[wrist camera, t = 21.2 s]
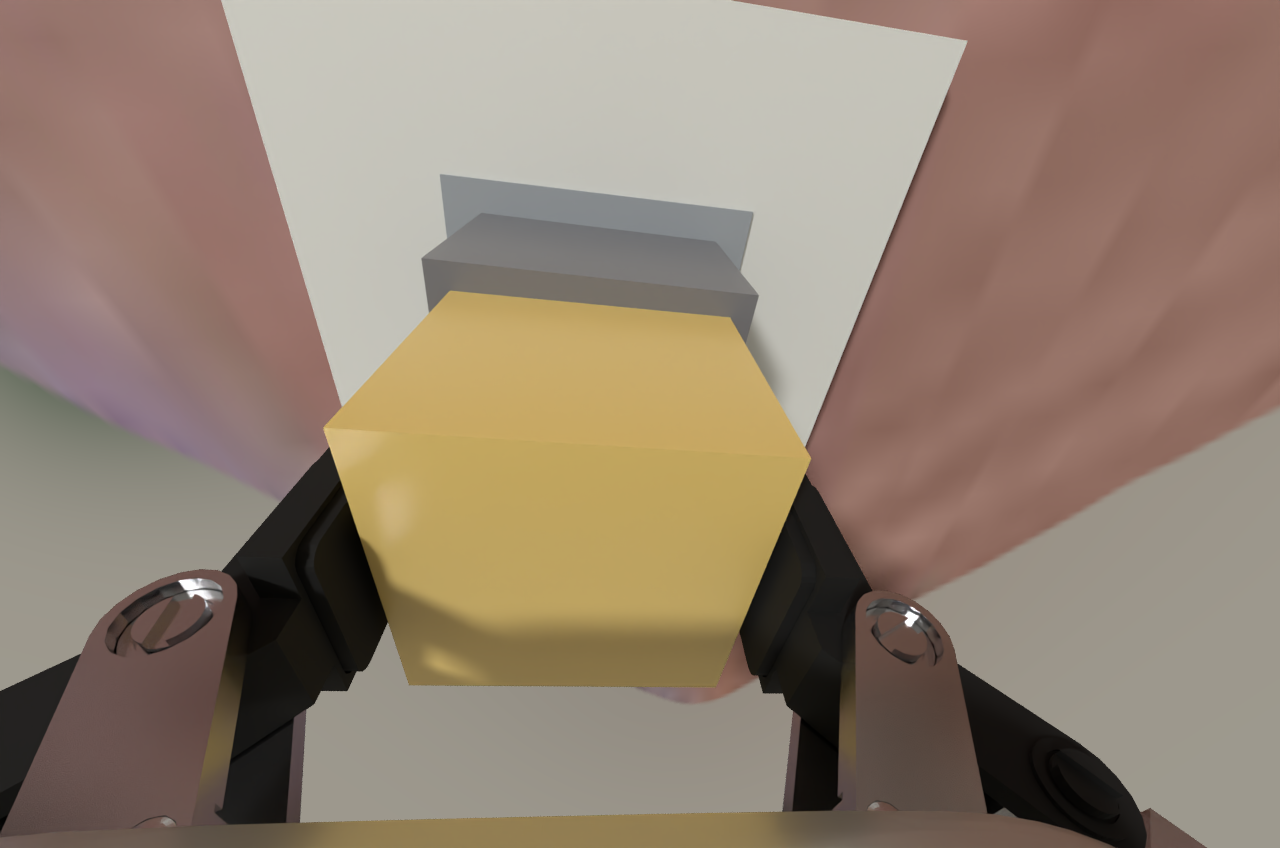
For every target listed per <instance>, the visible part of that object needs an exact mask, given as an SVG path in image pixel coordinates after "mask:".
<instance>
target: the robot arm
mask: <svg viewBox="0 0 1280 848" xmlns="http://www.w3.org/2000/svg"><path fill="white" fill-rule="evenodd" d="M387 623H388V620H387V617H386V614H385V611H384V608H383V605H382V602H381V599H380V596H379V593H378V590H377V587H376V584H375V581H374V578H373V575H372V572H371V569H370V566H369V563H368V560H367V557H366V554H365V552H364V549H363V546H362V543H361V540H360V537H359V534H358V531H357V528H356V525H355V522H354V519H353V516H352V513H351V510H350V507H349V504H348V501H347V498H346V495H345V492H344V489H343V486H342V483H341V480H340V477H339V474H338V471H337V468H336V465H335V462H334V459H333V456H332V453H331V450H330V447H329V448H328V449H327V450H326V452H325V453H324V454H323V455H322V456H321V457H320V459H319V460H317V461H316V462H315V463H314V464H313V465H312V466H311V467H310V468H309V470H308V471H307V472H306V473H305V474H304V475H303V477H302V478H301V479H300V480H299V481H298V482H297V484H296V485H295V486H294V487H293V488H292V489H291V491H290V492H289V493H288V494H287V495H286V496H285V498H284V499H283V500H282V501H281V502H280V503H279V505H278V506H277V507H276V508H275V509H274V511H273V512H272V513H271V514H270V515H269V517H268V518H267V519H266V520H265V521H264V522H263V523H262V525H261V526H260V527H259V528H258V529H257V530H256V532H255V533H254V534H253V535H252V536H251V537H250V539H249V540H248V541H247V542H246V543H245V544H244V546H243V547H242V548H241V549H240V550H239V552H238V553H237V554H236V555H235V556H234V557H233V559H232V560H231V561H230V562H229V563H228V564H227V566H226V567H225V568H224V569H223V570H222V572H221V571H218V570H205V569H199V570H193V571H187V572H181V573H177V574H175V575H171V576H168V577H165V578H162V579H159V580H157V581H155V582H153V583H151V584H149V585H147V586H145V587H143V588H141V589H138V590H137V591H135V592H134V593H132V594H131V595H129V596H128V597H127V598H125V599H123V600H122V601H120V602H119V603H118V604H116V605H115V606H114V607H113V608H112V609H111V610H110V611H109V612H108V613H107V614H106V615H104V616H103V617H102V618H101V619H100V621H99V622H98V624H97V625H96V627H95V628H94V630H93V631H92V633H91V634H90V636H89V638H88V640H87V642H86V645H85V647H84V649H83V651H82V653H81V654H79V655H77V656H75V657H73V658H71V659H69V660H66V661H64V662H62V663H60V664H58V665H56V666H54V667H52V668H49V669H47V670H45V671H43V672H40V673H39V674H36V675H34V676H32V677H30V678H28V679H25V680H23V681H21V682H19V683H17V684H15V685H12V686H10V687H8V688H6V689H4V690H2V691H0V848H1207V847H1205V846H1204V845H1202V844H1201V843H1199V842H1198V841H1197V840H1195V839H1194V838H1192V837H1191V836H1189V835H1188V834H1187V833H1185V832H1184V831H1182V830H1181V829H1179V828H1178V827H1177V826H1175V825H1174V824H1172V823H1171V822H1169V821H1168V820H1167V819H1165V818H1164V817H1162V816H1161V815H1159V814H1158V813H1157V812H1155V811H1154V810H1152V809H1151V808H1149V809H1147V810H1145V811H1143V812H1140V811H1139V809H1138V807H1137V805H1136V803H1135V802H1134V800H1133V798H1132V796H1131V795H1130V793H1129V792H1128V791H1127V789H1126V788H1125V787H1124V786H1123V784H1122V783H1121V781H1120V780H1119V779H1118V778H1117V776H1116V775H1115V774H1114V773H1113V772H1112V771H1111V770H1110V769H1109V768H1108V767H1107V766H1106V765H1105V764H1104V763H1103V762H1102V761H1101V760H1100V759H1099V758H1098V757H1096V756H1095V755H1094V754H1092V753H1091V752H1090V751H1088V750H1087V749H1086V748H1084V747H1083V746H1082V745H1081V744H1079V743H1078V742H1076V741H1075V740H1073V739H1072V738H1070V737H1069V736H1067V735H1066V734H1064V733H1063V732H1061V731H1059V730H1058V729H1057V728H1055V727H1053V726H1052V725H1050V724H1049V723H1047V722H1046V721H1044V720H1043V719H1041V718H1040V717H1038V716H1037V715H1035V714H1033V713H1032V712H1031V711H1029V710H1027V709H1026V708H1024V707H1023V706H1021V705H1020V704H1018V703H1017V702H1015V701H1014V700H1012V699H1011V698H1009V697H1008V696H1006V695H1004V694H1003V693H1002V692H1000V691H999V690H997V689H995V688H994V687H992V686H991V685H989V684H988V683H986V682H985V681H983V680H982V679H980V678H979V677H977V676H975V675H974V674H973V673H971V672H970V671H968V670H966V669H965V668H963V667H962V666H960V665H959V664H957V660H956V654H955V650H954V647H953V645H952V642H951V639H950V636H949V635H948V634H947V632H946V631H945V629H944V628H943V626H942V625H941V623H940V622H939V621H938V620H937V619H936V618H935V617H934V616H933V615H932V614H931V613H930V612H929V611H928V610H926V609H925V608H923V607H922V606H920V605H919V604H918V603H916V602H915V601H913V600H911V599H909V598H907V597H905V596H903V595H901V594H897V593H893V592H889V591H872V589H871V588H870V586H869V584H868V582H867V580H866V578H865V576H864V575H863V573H862V571H861V569H860V567H859V565H858V564H857V562H856V560H855V558H854V556H853V554H852V552H851V551H850V549H849V547H848V545H847V543H846V541H845V540H844V538H843V536H842V534H841V532H840V530H839V529H838V527H837V525H836V523H835V521H834V519H833V517H832V516H831V514H830V512H829V510H828V508H827V506H826V505H825V503H824V501H823V499H822V497H821V495H820V494H819V492H818V491H817V489H816V488H815V487H814V486H812V485H811V483H810V481H809V479H808V477H807V476H806V474H805V475H804V477H803V480H802V482H801V484H800V487H799V489H798V492H797V494H796V496H795V499H794V501H793V504H792V506H791V508H790V511H789V513H788V516H787V518H786V520H785V523H784V525H783V528H782V530H781V532H780V535H779V537H778V540H777V542H776V544H775V547H774V549H773V551H772V554H771V556H770V559H769V561H768V563H767V566H766V568H765V571H764V573H763V575H762V578H761V580H760V583H759V585H758V587H757V590H756V592H755V595H754V597H753V599H752V602H751V604H750V607H749V609H748V611H747V614H746V616H745V618H744V621H743V623H742V626H741V628H740V630H739V631H740V635H741V639H742V643H743V648H744V652H745V656H746V660H747V664H748V667H749V670H750V672H751V674H752V675H758V676H759V680H760V684H761V687H762V691H763V693H783V695H784V698H785V702H786V705H787V706H788V707H789V708H790V709H791V710H793V718H792V727H791V736H790V745H789V756H788V764H787V773H786V783H785V793H784V801H783V810H782V812H744V813H743V812H742V813H691V814H690V813H689V814H688V813H687V814H640V815H639V814H638V815H592V816H552V817H550V816H549V817H548V816H547V817H505V818H463V819H421V820H386V821H385V820H384V821H347V822H312V823H300V812H301V795H302V794H301V793H302V777H303V760H304V741H305V724H306V709H308V708H309V707H311V706H312V705H313V704H314V703H315V701H316V700H317V697H318V695H319V694H320V691H347V690H348V689H349V686H350V684H351V682H352V680H353V678H354V675H355V673H356V671H363V670H365V669H366V668H367V666H368V664H369V663H370V661H371V659H372V657H373V654H374V652H375V650H376V648H377V645H378V643H379V641H380V639H381V636H382V634H383V632H384V629H385V627H386V625H387Z"/></svg>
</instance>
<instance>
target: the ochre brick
mask: <svg viewBox="0 0 1280 848" xmlns="http://www.w3.org/2000/svg"><path fill="white" fill-rule="evenodd" d="M323 429H324V432H325V435H326V438H327V441H328V444H329V447H330V450H331V453H332V456H333V459H334V462H335V465H336V468H337V471H338V474H339V477H340V480H341V483H342V486H343V489H344V492H345V495H346V498H347V501H348V504H349V507H350V510H351V513H352V516H353V519H354V522H355V525H356V528H357V531H358V534H359V537H360V540H361V543H362V546H363V549H364V552H365V554H366V557H367V560H368V563H369V566H370V569H371V572H372V575H373V578H374V581H375V584H376V587H377V590H378V593H379V596H380V599H381V602H382V605H383V608H384V611H385V614H386V617H387V620H388V623H389V626H390V629H391V632H392V635H393V638H394V641H395V644H396V647H397V650H398V653H399V656H400V659H401V662H402V665H403V668H404V671H405V674H406V677H407V680H408V683H409V685H445V686H446V685H447V686H449V685H450V686H453V685H454V686H592V687H594V686H595V687H598V686H600V687H605V686H606V687H716V686H717V683H718V681H719V678H720V676H721V674H722V671H723V669H724V666H725V664H726V662H727V659H728V657H729V654H730V652H731V650H732V647H733V645H734V642H735V640H736V638H737V635H738V633H739V630H740V628H741V626H742V623H743V621H744V618H745V616H746V614H747V611H748V609H749V607H750V604H751V602H752V599H753V597H754V595H755V592H756V590H757V587H758V585H759V583H760V580H761V578H762V575H763V573H764V571H765V568H766V566H767V563H768V561H769V559H770V556H771V554H772V551H773V549H774V547H775V544H776V542H777V540H778V537H779V535H780V532H781V530H782V528H783V525H784V523H785V520H786V518H787V516H788V513H789V511H790V508H791V506H792V504H793V501H794V499H795V496H796V494H797V492H798V489H799V487H800V484H801V482H802V480H803V477H804V475H805V472H806V470H807V468H808V465H809V463H810V461H811V457H810V456H809V454H808V452H807V450H806V449H805V447H804V445H803V443H802V442H801V440H800V438H799V436H798V435H797V433H796V431H795V429H794V428H793V426H792V424H791V422H790V421H789V419H788V417H787V416H786V414H785V412H784V410H783V409H782V407H781V405H780V403H779V402H778V400H777V398H776V396H775V395H774V393H773V391H772V389H771V388H770V386H769V384H768V382H767V381H766V379H765V377H764V376H763V374H762V372H761V370H760V369H759V367H758V365H757V363H756V362H755V360H754V358H753V356H752V355H751V353H750V351H749V349H748V348H747V346H746V344H745V342H744V341H743V339H742V337H741V336H740V334H739V332H738V330H737V329H736V327H735V325H734V323H733V322H732V320H731V318H730V317H721V316H710V315H700V314H689V313H679V312H669V311H658V310H648V309H637V308H627V307H616V306H606V305H595V304H585V303H574V302H564V301H553V300H543V299H533V298H522V297H512V296H501V295H491V294H480V293H470V292H459V291H449V292H448V293H447V294H446V295H445V296H444V298H443V299H442V300H441V301H440V302H439V303H438V304H437V305H436V306H435V307H434V308H433V309H432V311H431V312H430V313H429V314H428V315H427V316H426V317H425V318H424V319H423V320H422V321H421V322H420V324H419V325H418V326H417V327H416V328H415V329H414V330H413V331H412V332H411V333H410V334H409V335H408V337H407V338H406V339H405V340H404V341H403V342H402V343H401V344H400V345H399V346H398V347H397V348H396V350H395V351H394V352H393V353H392V354H391V355H390V356H389V357H388V358H387V359H386V360H385V361H384V363H383V364H382V365H381V366H380V367H379V368H378V369H377V370H376V371H375V372H374V373H373V374H372V376H371V377H370V378H369V379H368V380H367V381H366V382H365V383H364V384H363V385H362V386H361V387H360V389H359V390H358V391H357V392H356V393H355V394H354V395H353V396H352V397H351V398H350V399H349V400H348V402H347V403H346V404H345V405H344V406H343V407H342V408H341V409H340V410H339V411H338V412H337V413H336V415H335V416H334V417H333V418H332V419H331V420H330V421H329V422H328V423H327V424H326V425H325V426H324V428H323Z"/></svg>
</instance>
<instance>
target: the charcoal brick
mask: <svg viewBox="0 0 1280 848" xmlns="http://www.w3.org/2000/svg"><path fill="white" fill-rule="evenodd" d="M421 260H422V267H423V274H424V281H425V288H426V296H427V303H428V310H429V313H430V312H431V311H432V309H433V308H434V307H435V306H436V305H437V304H438V303H439V302H440V301H441V300H442V299H443V298H444V296H445V295H446V294H447V293H448V292H449V291H459V292H470V293H480V294H491V295H501V296H512V297H522V298H533V299H543V300H553V301H564V302H574V303H585V304H595V305H606V306H616V307H627V308H637V309H648V310H658V311H669V312H679V313H689V314H700V315H710V316H721V317H730V318H731V320H732V322H733V323H734V325H735V327H736V329H737V330H738V332H739V334H740V336H741V337H742V339H743V341H744V342H745V344H746V341H747V337H748V334H749V330H750V326H751V323H752V319H753V316H754V312H755V308H756V305H757V301H758V297H759V295H758V293H757V292H756V291H755V290H754V288H753V287H752V286H751V285H750V283H749V282H748V281H747V280H746V279H745V277H744V276H743V275H742V274H741V272H740V271H739V270H738V269H737V267H736V266H735V265H734V264H733V262H732V261H731V260H730V259H729V257H728V256H727V255H726V254H725V252H724V251H723V250H722V249H721V247H720V246H719V245H718V244H717V242H715V241H706V240H698V239H690V238H682V237H674V236H666V235H658V234H649V233H641V232H633V231H625V230H617V229H609V228H601V227H592V226H584V225H576V224H568V223H560V222H552V221H543V220H535V219H527V218H519V217H511V216H503V215H495V214H486V213H480V214H479V215H478V216H476V217H475V218H474V219H472V220H471V221H470V222H468V223H467V224H466V225H464V226H463V227H462V228H460V229H459V230H458V231H457V232H455V233H454V234H453V235H451V236H450V237H449V238H447V239H446V240H445V241H443V242H442V243H441V244H439V245H438V246H437V247H435V248H434V249H433V250H431V251H430V252H429V253H427V254H426V255H425V256H423V257H422V258H421Z"/></svg>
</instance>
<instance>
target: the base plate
mask: <svg viewBox="0 0 1280 848" xmlns="http://www.w3.org/2000/svg"><path fill="white" fill-rule="evenodd" d="M221 1H222V4H223V8H224V11H225V14H226V18H227V21H228V25H229V28H230V31H231V35H232V38H233V41H234V45H235V48H236V52H237V55H238V58H239V62H240V65H241V68H242V72H243V75H244V78H245V82H246V85H247V89H248V92H249V95H250V99H251V102H252V105H253V109H254V112H255V115H256V119H257V122H258V126H259V129H260V132H261V136H262V139H263V142H264V146H265V149H266V153H267V156H268V159H269V163H270V166H271V169H272V173H273V176H274V179H275V183H276V186H277V190H278V193H279V196H280V200H281V203H282V206H283V210H284V213H285V217H286V220H287V223H288V227H289V230H290V233H291V237H292V240H293V243H294V247H295V250H296V254H297V257H298V260H299V264H300V267H301V270H302V274H303V277H304V280H305V284H306V287H307V291H308V294H309V297H310V301H311V304H312V307H313V311H314V314H315V318H316V321H317V324H318V328H319V331H320V334H321V338H322V341H323V344H324V348H325V351H326V355H327V358H328V361H329V365H330V368H331V371H332V375H333V378H334V382H335V385H336V388H337V392H338V395H339V398H340V402H341V405H342V407H343V406H344V405H345V404H346V403H347V402H348V400H349V399H350V398H351V397H352V396H353V395H354V394H355V393H356V392H357V391H358V390H359V389H360V387H361V386H362V385H363V384H364V383H365V382H366V381H367V380H368V379H369V378H370V377H371V376H372V374H373V373H374V372H375V371H376V370H377V369H378V368H379V367H380V366H381V365H382V364H383V363H384V361H385V360H386V359H387V358H388V357H389V356H390V355H391V354H392V353H393V352H394V351H395V350H396V348H397V347H398V346H399V345H400V344H401V343H402V342H403V341H404V340H405V339H406V338H407V337H408V335H409V334H410V333H411V332H412V331H413V330H414V329H415V328H416V327H417V326H418V325H419V324H420V322H421V321H422V320H423V319H424V318H425V317H426V316H427V315H428V314H429V310H428V303H427V296H426V288H425V281H424V274H423V267H422V260H421V258H422V257H423V256H425V255H426V254H427V253H429V252H430V251H431V250H433V249H434V248H435V247H437V246H438V245H439V244H441V243H442V242H443V241H445V240H446V239H447V238H449V237H450V236H451V235H453V234H454V233H455V232H457V231H458V230H459V229H460V228H462V227H463V226H464V225H466V224H467V223H468V222H470V221H471V220H472V219H474V218H475V217H476V216H478V215H479V214H480V213H486V214H495V215H503V216H511V217H519V218H527V219H535V220H543V221H552V222H560V223H568V224H576V225H584V226H592V227H601V228H609V229H617V230H625V231H633V232H641V233H649V234H658V235H666V236H674V237H682V238H690V239H698V240H706V241H715V242H717V244H718V245H719V246H720V247H721V249H722V250H723V251H724V252H725V254H726V255H727V256H728V257H729V259H730V260H731V261H732V262H733V264H734V265H735V266H736V267H737V269H738V270H739V271H740V272H741V274H742V275H743V276H744V277H745V279H746V280H747V281H748V282H749V283H750V285H751V286H752V287H753V288H754V290H755V291H756V292H757V293H758V295H759V297H758V301H757V305H756V308H755V312H754V316H753V319H752V323H751V326H750V330H749V334H748V337H747V341H746V346H747V348H748V349H749V351H750V353H751V355H752V356H753V358H754V360H755V362H756V363H757V365H758V367H759V369H760V370H761V372H762V374H763V376H764V377H765V379H766V381H767V382H768V384H769V386H770V388H771V389H772V391H773V393H774V395H775V396H776V398H777V400H778V402H779V403H780V405H781V407H782V409H783V410H784V412H785V414H786V416H787V417H788V419H789V421H790V422H791V424H792V426H793V428H794V429H795V431H796V433H797V435H798V436H799V438H800V440H801V442H802V443H803V445H804V447H805V446H806V444H807V441H808V439H809V436H810V434H811V431H812V429H813V426H814V424H815V421H816V419H817V416H818V414H819V411H820V409H821V406H822V404H823V401H824V399H825V396H826V394H827V391H828V389H829V386H830V384H831V381H832V379H833V376H834V374H835V371H836V369H837V366H838V364H839V361H840V359H841V356H842V354H843V351H844V349H845V346H846V344H847V341H848V339H849V336H850V334H851V331H852V329H853V326H854V324H855V321H856V319H857V316H858V314H859V311H860V309H861V306H862V304H863V301H864V299H865V296H866V294H867V291H868V289H869V286H870V284H871V281H872V279H873V276H874V274H875V271H876V269H877V266H878V264H879V261H880V259H881V256H882V254H883V251H884V249H885V246H886V244H887V241H888V239H889V236H890V234H891V231H892V229H893V226H894V224H895V221H896V219H897V216H898V214H899V211H900V209H901V206H902V204H903V201H904V199H905V196H906V194H907V191H908V189H909V186H910V184H911V181H912V179H913V176H914V174H915V171H916V169H917V166H918V164H919V161H920V159H921V156H922V154H923V151H924V149H925V146H926V144H927V141H928V139H929V136H930V134H931V131H932V129H933V126H934V124H935V121H936V119H937V116H938V114H939V111H940V109H941V106H942V104H943V101H944V99H945V96H946V94H947V91H948V89H949V86H950V84H951V81H952V79H953V76H954V74H955V71H956V69H957V66H958V64H959V61H960V59H961V56H962V54H963V51H964V49H965V46H966V44H967V41H965V40H959V39H953V38H947V37H941V36H936V35H930V34H924V33H918V32H912V31H906V30H901V29H895V28H889V27H883V26H877V25H871V24H865V23H860V22H854V21H848V20H842V19H836V18H830V17H825V16H819V15H813V14H807V13H801V12H795V11H790V10H784V9H778V8H772V7H766V6H760V5H755V4H749V3H743V2H737V1H731V0H221Z"/></svg>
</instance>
